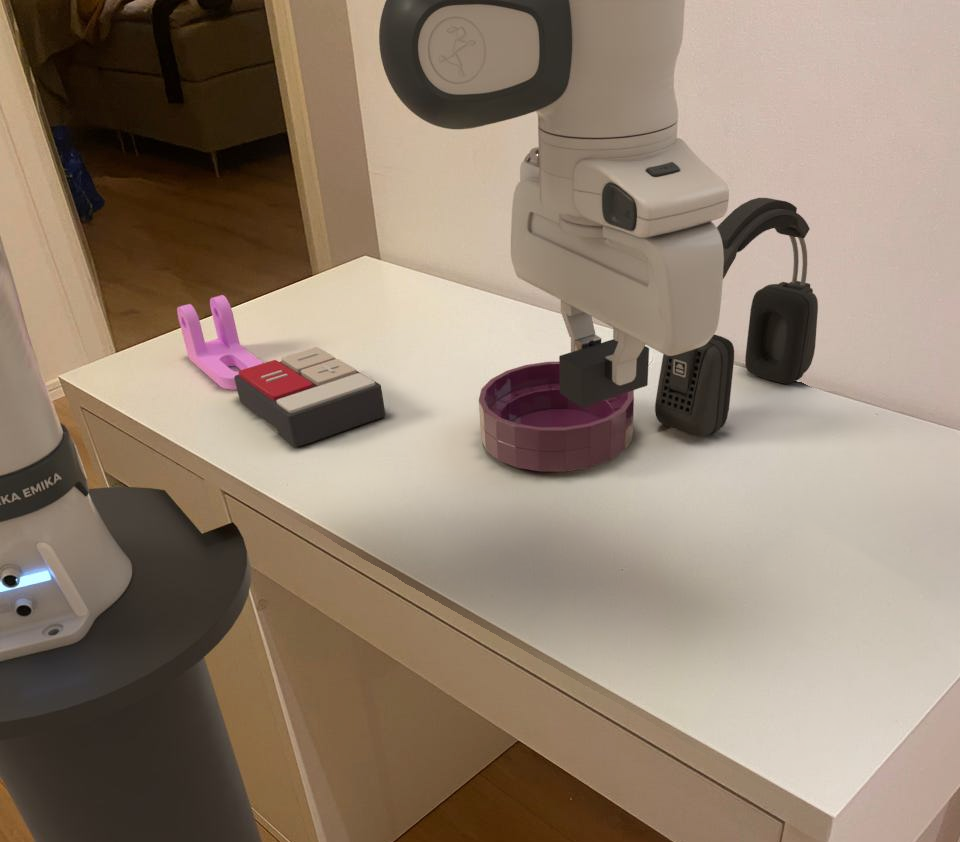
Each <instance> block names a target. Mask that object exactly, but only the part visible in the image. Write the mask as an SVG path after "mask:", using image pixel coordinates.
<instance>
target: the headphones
mask: <svg viewBox="0 0 960 842" xmlns="http://www.w3.org/2000/svg"><path fill="white" fill-rule="evenodd" d="M716 227H717V229H718V231H719V233H720V236H721V239H722V243H723V253H724V264H723V280H724V279H725V277H726V275H727V273H728V272H729V270H730V268H731V267H732V265H733V263H734V261H735V260H736V257H737V254H738V253H740V252H742V251H743V250H744V249H745V248H746V247H748V245H750V243H752V241H754V240H755V239H756V238H757V237H759V236H760V235H761V234H763V233H765V232H766V231H769V230H773V229H774V230H775V232H776V233H777V234H780V235H784V236H788V237H789V240H790V242H791V245H792V252H793V266H792V267H793V269H792V277H791V278H792V279H791V281H789V282H786V281H781V282H779V283H771V284H767V285H764V286H763V287H762V288H760V289H758V290H756V292H755V293H754V295H753V298H752V300H751V305H750V313H749V322H748V330H747V339H746V348H745V349H746V350H745V359H744V363H745V368H746V370H747V372H748V373H750V374H752V375H754V376H756V377H759V378H762V379H766V380H769V381H772V382H776V383H779V384H786V385H787V384H791V383H794V382H797V381H798V380H800V379H801V378H803V376H804V374H805V373H806V372H807V371H808V370H809V369H810V367H811V365H812V363H813V360H814V356H815V351H816V341H817V328H818V327H817V326H818V325H817V324H818V313H819V302H818V297H817V295H816V294H815V293H814V289H813V288H811V284H810V283H808V282H806V281H807V274H808V250H807V249H808V248H807V244H806V240H805V238H806V236H807V235H808V234H809V231H810V230H811V229H810V226H809V224H808V223H807V221H806V219H805V218H804V217H803V216H802V215H801V214H800V213H798V207H797V206H796V205H794V204H793V203H790V202H789V201H786V200H780V199H776V198H770V197H757V198H753V199H750V200H747V201H746V202H744V203H742V204H740V205H739V206H737V207H736V208H735V209H734V210H733V211H731V213H730V214H729V215H727V216H726V217H725V218H724V219H723V220H722V221H721V222H720V223H719V225H717V226H716ZM797 238H798V241H799V244H800V247H801V255H802V256H801V257H802V268H801V279H800V280H798V274H799V261H800V260H799V247H798V242H797ZM662 354H663V353H662ZM734 364H735V347H734V344H733V342H732V341H731V340H730V339H728V338H726V337H724V336H722V335H718V334H714V335H713V337H712V338H711V339H710V340H709V342H708V343H707V344H706V345H704V346H702V347H699V348H696V349H694V350H691V351H688V352H684V353H681V354H678V355H673V356H667V355H665V354H663V355H662V360H661V367H660V371H659V377H658V384H657V390H656V397H655V403H654V413H655V417H656V420H657V421H658V422H659V423H660V424H662V425H664V426H665V427H668V428H670V429H673V430H676V431H679V432H682V433H684V434H687V435H690V436H694V437H697V438H699V437H700V438H703V437H706V436H709V435H714V434H716V433H718V432H719V431H720V430H721V428H723V426H724V425H725V424H726V423H727V419H728V416H729V411H730V402H731V393H732V384H733V374H734V366H735V365H734Z"/></svg>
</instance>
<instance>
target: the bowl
mask: <svg viewBox="0 0 960 842" xmlns="http://www.w3.org/2000/svg"><path fill="white" fill-rule="evenodd" d="M634 407H635V390H633V391H630V392H627V393H624V394H621V395H618V396H615V397H612V398H609V399H606V400H603V401H600V402H597V403H594V404H591V405H588V406H585V407H581V406H579V405H577V404H576V403H574V402H573V401H571V400H570V399H568V398H567V397H565V396H563V395H562V394H560V371H559V361H543V362H537V363H529V364H525V365H521V366H518V367H515V368H511V369H508V370H505V371H503V372H502V373H500V374H498V375H496V376H494V377H492V378H491V379H489V381H487V382H486V384H485V385H484V386H483V387H481V389H480V393H479V396H478V409H479V410H478V413H479V427H480V429H479V430H480V439H481V442H482V444H483V446H484V449H485V451H486V452H487V453H489V454H490V455H491V456H492V457H494V459H496V460H497V461H500V462H502V463H504V464H506V465H510V466H512V467H515V468H517V469H524V470H530V471H536V472H572V471H577V470H583V469H589V468H592V467H596V466H599V465H601V464H604V463H606V462H609V461H612V460H613V459H614V458H616V457H617V456H619V455H620V454H622V453H623V452H625V451H626V449H627V448H628V447H629V445H630V443H631V442H632V441H633V434H634V433H633V432H634V411H635V410H634Z"/></svg>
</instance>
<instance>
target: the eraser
mask: <svg viewBox="0 0 960 842" xmlns="http://www.w3.org/2000/svg"><path fill="white" fill-rule="evenodd" d="M617 344H618V341H615V340H614V339H613V338H611V339H610V340H605V341H603V342H601V343H600V344H596V345H593V346H590V347H587V348H583V349H580V350H577V351H574V352H571V351H570V352H567V353H564V354H561V355H559V360H558V362H559V371H560V394H562V395H563V396H565V397H567V398H568V399H570V400H571V401H573V402H574V403H576V404H577V405H579V406H581V407H585V406H588V405H591V404H594V403H597V402H600V401H603V400H606V399H609V398H612V397H615V396H618V395H621V394H624V393H627V392H630V391H633V390H634V391H637V390H638V389H642V388H645V387H647V386H648V383H649V365H650V362H649V360H650V359H649V358H650V348H649V346H647V345H645V346H644V348H643V350H642V351H641V353H640V355H639V356H638V358H637V364H636V377H635V379H634V380H633V381H632V382H629V383H626V384H623V385H617V384H615V383H614V382H612V381H611V380H609V379H607V378H606V377H605V370H606V368H605V357H607V356H610V355H613V354H614V352H615V349H616V347H617Z"/></svg>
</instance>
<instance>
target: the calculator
mask: <svg viewBox="0 0 960 842" xmlns="http://www.w3.org/2000/svg"><path fill="white" fill-rule="evenodd" d="M280 360H281V361H279V360H277V359H273V360H269V361H266V362H264V363H263V362H262V363H263V364H259V365H256V366H253V367H250V368H247V369H243V370H240V369H239V370H237V371H238V373H239V375H236V376H235V377H234V379H235V383H236V387H237V390H236V391H237V395H238V399H239V402H240V403H242V404H243V405H244V406H246V407H247V408H249V409H250V410H251V411H253V412H254V413H256V414H257V415H258V416H259V417H261V418H262V419H263V420H265V421H266V422H267V423H269V424H270V425H271V426H272V427H274V428H275V429H276V431H277V433H278V434H279V436H280V437H281V438H282V439H284V440H285V441H286V442H288V443H289V444H290V445H292V446H293V447H295V448H298V447H301V446H305V445H308V444H311V443H314V442H315V441H318V440H321V439H325V438H327V437H330V436H333V435H336V434H338V433H342V432H344V431H347V430H350V429H353V428H356V427H358V426H361V425H364V424H367V423H370V422H373V421H376V420H378V419H381V418H384V417H386V408H385V402H384V396H383V395H384V394H383V390H382V385H381V384H380V383H379V382H377V381H376V380H373V379H372V378H370V377H368V376H366V375H365V374H363V373H361V372H359V371H358V370H357V369H356V368H355V367H353V366H352V365H350V364H348V363H346V362H345V361H343V360H341V359H339V358H336V357H335V356H334V355H332V354H330V353H328V352H327V351H326V350H324V349H322V348H321V347H318V346H315V347H311V348H308V349H305V350H302V351H298V352H295V353H293V354H289V355H286V356H282V357H281V358H280Z"/></svg>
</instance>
